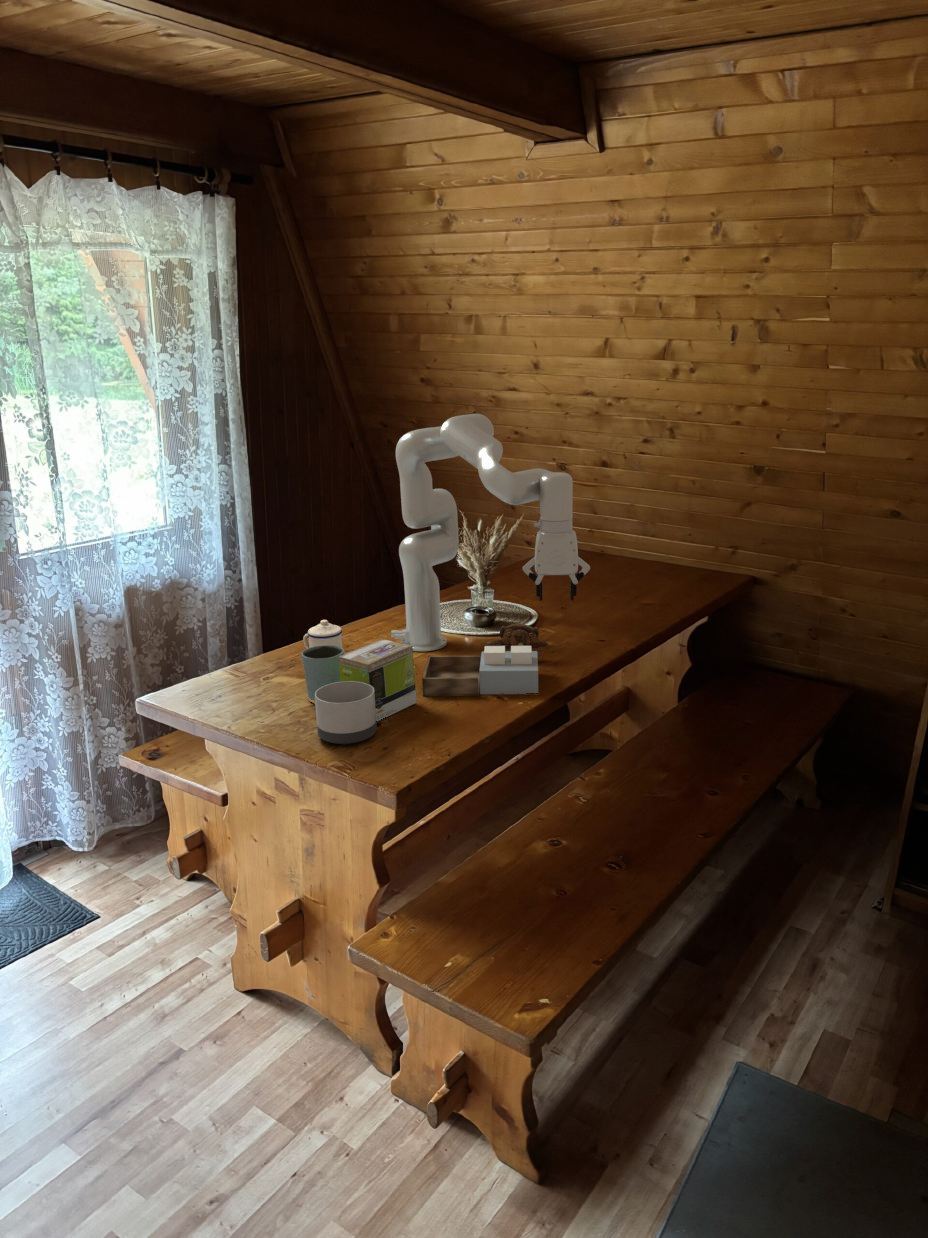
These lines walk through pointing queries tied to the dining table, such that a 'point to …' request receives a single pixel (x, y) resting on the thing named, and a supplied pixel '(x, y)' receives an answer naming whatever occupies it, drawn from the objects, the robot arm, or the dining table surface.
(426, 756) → the dining table surface
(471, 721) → the dining table surface
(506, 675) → the grey square block
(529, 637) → the wooden carving
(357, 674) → the tea box
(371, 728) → the planter
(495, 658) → the cream square-faced block
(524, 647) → the cream upright block
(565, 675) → the dining table surface
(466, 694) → the box
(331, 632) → the teacup with lid
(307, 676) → the teal tapered cup
